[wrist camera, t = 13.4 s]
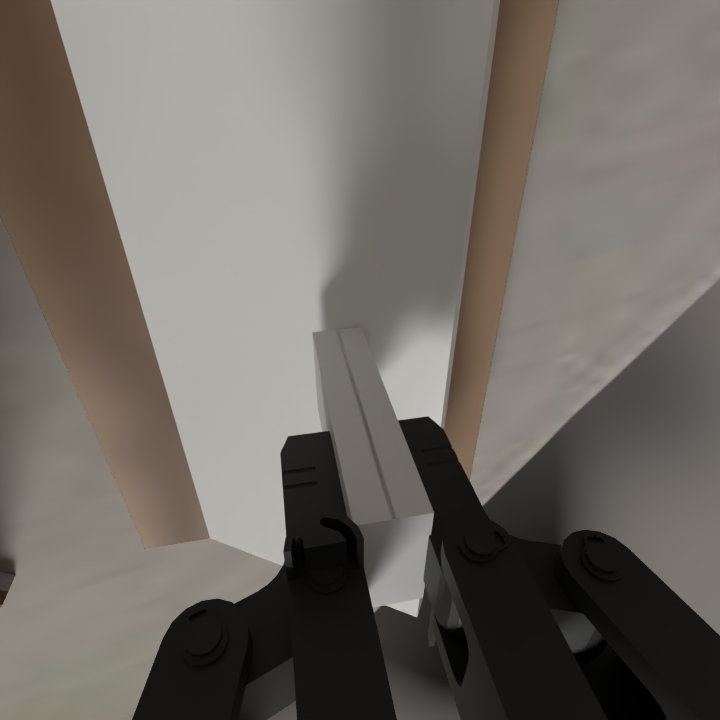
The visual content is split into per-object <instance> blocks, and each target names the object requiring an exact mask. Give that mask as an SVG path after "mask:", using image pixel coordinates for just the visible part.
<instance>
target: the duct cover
mask: <svg viewBox="0 0 720 720" xmlns="http://www.w3.org/2000/svg"><path fill="white" fill-rule="evenodd" d="M51 3H52V7H53V10H54V14H55V17H56V20H57V24H58V27H59V30H60V34H61V37H62V41H63V44H64V47H65V51H66V54H67V57H68V61H69V64H70V68H71V71H72V74H73V78H74V81H75V84H76V88H77V91H78V94H79V98H80V101H81V105H82V108H83V111H84V115H85V118H86V121H87V125H88V128H89V132H90V135H91V138H92V142H93V145H94V148H95V152H96V155H97V159H98V162H99V165H100V169H101V172H102V175H103V179H104V182H105V186H106V189H107V192H108V196H109V199H110V202H111V206H112V209H113V212H114V216H115V219H116V223H117V226H118V229H119V233H120V236H121V239H122V243H123V246H124V250H125V253H126V256H127V260H128V263H129V266H130V270H131V273H132V277H133V280H134V283H135V287H136V290H137V293H138V297H139V300H140V303H141V307H142V310H143V314H144V317H145V320H146V324H147V327H148V330H149V334H150V337H151V341H152V344H153V347H154V351H155V354H156V357H157V361H158V364H159V368H160V371H161V374H162V378H163V381H164V384H165V388H166V391H167V395H168V398H169V401H170V405H171V408H172V411H173V415H174V418H175V421H176V425H177V428H178V432H179V435H180V438H181V442H182V445H183V448H184V452H185V455H186V459H187V462H188V465H189V469H190V472H191V475H192V479H193V482H194V486H195V489H196V492H197V496H198V499H199V502H200V506H201V509H202V512H203V516H204V519H205V523H206V526H207V529H208V533H209V536H210V538H211V539H214V540H216V541H219V542H221V543H224V544H227V545H229V546H232V547H235V548H237V549H240V550H242V551H245V552H248V553H250V554H253V555H255V556H258V557H261V558H263V559H266V560H269V561H271V562H274V563H276V564H279V565H282V566H283V564H284V554H283V550H284V543H285V538H286V527H285V513H284V499H283V485H282V471H281V457H280V453H281V450H282V448H283V446H284V444H285V442H286V440H287V437H288V436H294V435H301V434H309V433H316V432H322V428H321V422H320V417H319V411H318V405H317V390H316V376H315V362H314V348H313V334H312V332H320V331H330V330H340V329H350V328H360V327H362V330H363V333H364V335H365V338H366V340H367V343H368V345H369V348H370V350H371V353H372V355H373V358H374V361H375V363H376V366H377V368H378V371H379V373H380V376H381V378H382V381H383V384H384V386H385V389H386V391H387V394H388V396H389V399H390V401H391V404H392V407H393V409H394V412H395V414H396V417H397V419H398V420H405V419H412V418H420V417H427V416H429V417H430V418H431V419H432V420H433V421H434V422H436V423H437V424H438V425H439V426H440V427H441V428H443V429H444V427H445V419H446V412H447V404H448V396H449V389H450V381H451V373H452V366H453V358H454V350H455V343H456V335H457V327H458V320H459V312H460V304H461V297H462V289H463V281H464V274H465V266H466V258H467V251H468V243H469V236H470V228H471V220H472V213H473V205H474V197H475V190H476V182H477V174H478V167H479V159H480V151H481V144H482V136H483V128H484V121H485V113H486V105H487V98H488V90H489V82H490V75H491V67H492V59H493V52H494V44H495V36H496V29H497V21H498V13H499V6H500V0H51ZM421 602H422V598H420V599H414V600H409V601H404V602H399V603H394V604H389V605H386V606H389V607H392V608H394V609H397V610H400V611H402V612H405V613H407V614H410V615H413V616H415V617H417V616H418V612H419V609H420V605H421Z"/></svg>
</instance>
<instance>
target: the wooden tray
mask: <svg viewBox="0 0 720 720" xmlns="http://www.w3.org/2000/svg"><path fill="white" fill-rule="evenodd" d="M558 4H559V0H500V6H499V13H498V21H497V29H496V36H495V44H494V52H493V59H492V67H491V75H490V82H489V90H488V98H487V105H486V113H485V121H484V128H483V136H482V144H481V151H480V159H479V167H478V174H477V182H476V190H475V197H474V205H473V213H472V220H471V228H470V236H469V243H468V251H467V258H466V266H465V274H464V281H463V289H462V297H461V304H460V312H459V320H458V327H457V335H456V343H455V350H454V358H453V366H452V373H451V381H450V389H449V396H448V404H447V412H446V419H445V427H444V431H445V433H446V435H447V437H448V439H449V441H450V443H451V445H452V449H454V451H455V453H456V455H457V457H458V461H459V462H460V463H461V465H462V467H463V469H464V471H465V473H466V475H467V477H468V479H469V481H470V476H471V470H472V465H473V460H474V454H475V449H476V444H477V438H478V433H479V428H480V422H481V417H482V411H483V406H484V401H485V395H486V390H487V385H488V379H489V374H490V369H491V363H492V358H493V352H494V347H495V342H496V336H497V331H498V326H499V320H500V315H501V310H502V304H503V299H504V293H505V288H506V283H507V277H508V272H509V267H510V261H511V256H512V251H513V245H514V240H515V235H516V229H517V224H518V218H519V213H520V208H521V202H522V197H523V192H524V186H525V181H526V176H527V170H528V165H529V159H530V154H531V149H532V143H533V138H534V133H535V127H536V122H537V117H538V111H539V106H540V101H541V95H542V90H543V84H544V79H545V74H546V68H547V63H548V58H549V52H550V47H551V42H552V36H553V31H554V25H555V20H556V15H557V9H558ZM0 216H1V218H2V220H3V223H4V225H5V227H6V230H7V232H8V234H9V236H10V239H11V241H12V243H13V246H14V248H15V250H16V253H17V255H18V257H19V260H20V262H21V264H22V266H23V269H24V271H25V273H26V276H27V278H28V280H29V283H30V285H31V287H32V290H33V292H34V294H35V297H36V299H37V301H38V303H39V306H40V308H41V310H42V313H43V315H44V317H45V320H46V322H47V324H48V327H49V329H50V331H51V334H52V336H53V338H54V340H55V343H56V345H57V347H58V350H59V352H60V354H61V357H62V359H63V361H64V364H65V366H66V368H67V370H68V373H69V375H70V377H71V380H72V382H73V384H74V387H75V389H76V391H77V394H78V396H79V398H80V401H81V403H82V405H83V407H84V410H85V412H86V414H87V417H88V419H89V421H90V424H91V426H92V428H93V431H94V433H95V435H96V437H97V440H98V442H99V444H100V447H101V449H102V451H103V454H104V456H105V458H106V461H107V463H108V465H109V468H110V470H111V472H112V474H113V477H114V479H115V481H116V484H117V486H118V488H119V491H120V493H121V495H122V498H123V500H124V502H125V505H126V507H127V509H128V511H129V514H130V516H131V518H132V521H133V523H134V525H135V528H136V530H137V532H138V535H139V537H140V539H141V541H142V544H143V546H144V548H145V549H148V548H153V547H159V546H165V545H171V544H177V543H183V542H189V541H195V540H201V539H207V538H210V536H209V533H208V529H207V526H206V523H205V519H204V516H203V512H202V509H201V506H200V502H199V499H198V496H197V492H196V489H195V486H194V482H193V479H192V475H191V472H190V469H189V465H188V462H187V459H186V455H185V452H184V448H183V445H182V442H181V438H180V435H179V432H178V428H177V425H176V421H175V418H174V415H173V411H172V408H171V405H170V401H169V398H168V395H167V391H166V388H165V384H164V381H163V378H162V374H161V371H160V368H159V364H158V361H157V357H156V354H155V351H154V347H153V344H152V341H151V337H150V334H149V330H148V327H147V324H146V320H145V317H144V314H143V310H142V307H141V303H140V300H139V297H138V293H137V290H136V287H135V283H134V280H133V277H132V273H131V270H130V266H129V263H128V260H127V256H126V253H125V250H124V246H123V243H122V239H121V236H120V233H119V229H118V226H117V223H116V219H115V216H114V212H113V209H112V206H111V202H110V199H109V196H108V192H107V189H106V186H105V182H104V179H103V175H102V172H101V169H100V165H99V162H98V159H97V155H96V152H95V148H94V145H93V142H92V138H91V135H90V132H89V128H88V125H87V121H86V118H85V115H84V111H83V108H82V105H81V101H80V98H79V94H78V91H77V88H76V84H75V81H74V78H73V74H72V71H71V68H70V64H69V61H68V57H67V54H66V51H65V47H64V44H63V41H62V37H61V34H60V30H59V27H58V24H57V20H56V17H55V14H54V10H53V7H52V3H51V0H0Z"/></svg>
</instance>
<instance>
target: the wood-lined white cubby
mask: <svg viewBox="0 0 720 720" xmlns="http://www.w3.org/2000/svg"><path fill="white" fill-rule="evenodd" d="M14 577H15V575H13V574H9V573H5V572H1V571H0V607H1V606H2V605H3V602H4V600H5V598H6V595H7V593H8V591H9V589H10V586H11V584H12V582H13V579H14Z"/></svg>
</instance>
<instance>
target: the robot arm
mask: <svg viewBox="0 0 720 720" xmlns="http://www.w3.org/2000/svg"><path fill="white" fill-rule="evenodd" d="M312 334H313V348H314V362H315V376H316V390H317V405H318V411H319V417H320V422H321V428H322V432H316V433H309V434H301V435H294V436H288V437H287V440H286V442H285V444H284V446H283V448H282V450H281V453H280V457H281V471H282V485H283V499H284V513H285V527H286V538H285V543H284V550H283V554H284V564H283V566H282V568H281V570H280V571H279V573H278V574H277V576H276V577H275V578H274V579H273V580H272V581H271V582H270V583H269V584H268V585H267V586H265V587H264V588H262V589H261V590H259V591H258V592H256V593H254V594H252V595H250V596H248V597H246V598H244V599H242V600H241V601H239V602H237V603H235V604H233V603H232V602H229V601H225V600H221V599H212V600H205V601H201V602H199V603H197V604H195V605H193V606H191V607H189V608H187V609H185V610H184V611H183V612H182V613H181V614H180V615H179V616H178V617H177V618H176V619H175V620H174V621H173V622H172V623H171V625H170V627H169V629H168V630H167V632H166V634H165V636H164V637H163V640H162V642H161V645H160V647H159V650H158V653H157V655H156V658H155V661H154V663H153V666H152V669H151V671H150V674H149V677H148V679H147V682H146V684H145V687H144V690H143V692H142V695H141V698H140V700H139V703H138V706H137V708H136V711H135V714H134V716H133V719H132V720H267V719H269V718H270V717H272V716H273V715H275V714H276V713H278V712H279V711H281V710H282V709H284V708H285V707H287V706H288V705H290V704H291V703H293V702H294V701H296V709H297V720H397V719H396V715H395V709H394V705H393V700H392V696H391V691H390V686H389V682H388V677H387V672H386V667H385V664H384V658H383V654H382V649H381V644H380V640H379V635H378V630H377V626H376V621H375V617H374V612H373V607H378V606H383V605H389V604H394V603H399V602H404V601H409V600H414V599H420V598H423V593H424V586H425V587H426V590H427V593H428V596H429V599H430V602H431V605H432V611H431V617H430V624H429V630H428V640H429V646H434V645H435V639H436V641H437V644H438V647H439V650H440V654H441V657H442V661H443V664H444V667H445V670H446V673H447V676H448V680H449V683H450V686H451V690H452V693H453V696H454V699H455V702H456V706H457V709H458V712H459V715H460V718H461V720H720V636H719V634H717V633H716V632H715V631H714V630H713V629H712V628H711V627H710V626H709V625H708V624H707V623H706V622H705V621H704V620H703V619H702V618H701V617H700V616H699V615H697V613H695V612H694V611H693V610H692V609H691V608H690V607H689V606H688V605H687V604H686V603H685V602H684V601H683V600H682V599H681V598H680V597H678V595H677V594H676V593H675V592H673V591H672V590H671V589H670V588H669V587H668V586H667V585H666V584H665V583H664V582H663V581H662V580H661V579H660V578H659V577H658V576H657V575H656V574H655V573H653V571H651V570H650V569H649V568H648V567H647V566H646V565H645V564H644V563H643V562H642V561H641V560H640V559H639V558H638V557H637V556H636V555H635V554H634V553H633V552H631V550H629V549H628V548H627V547H626V546H624V545H623V544H622V543H620V542H619V541H618V540H616V539H615V538H613V537H611V536H608V535H606V534H604V533H601V532H598V531H589V530H582V531H577V532H573V533H572V534H570V535H569V536H568V537H567V538H566V539H565V540H564V542H563V544H562V545H558V544H549V543H542V542H535V541H528V540H524V539H519V538H516V537H514V536H512V535H509V534H508V533H507V532H506V531H505V529H504V528H502V527H501V526H500V525H498V524H497V523H495V522H494V521H492V520H490V519H489V517H488V516H487V514H486V513H485V511H484V509H483V507H482V505H481V503H480V501H479V499H478V497H477V495H476V493H475V491H474V489H473V487H472V485H471V483H470V481H469V479H468V477H467V475H466V473H465V471H464V469H463V467H462V465H461V463H460V462H459V461H458V457H457V455H456V453H455V451H454V449H452V445H451V443H450V441H449V439H448V437H447V435H446V433H445V431H444V429H443V428H441V427H440V426H439V425H438V424H437V423H436V422H434V421H433V420H432V419H431V418H430V417H429V416H427V417H420V418H412V419H405V420H398V419H397V417H396V414H395V412H394V409H393V407H392V404H391V401H390V399H389V396H388V394H387V391H386V389H385V386H384V384H383V381H382V378H381V376H380V373H379V371H378V368H377V366H376V363H375V361H374V358H373V355H372V353H371V350H370V348H369V345H368V343H367V340H366V338H365V335H364V333H363V330H362V327H360V328H350V329H340V330H330V331H320V332H312Z"/></svg>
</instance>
